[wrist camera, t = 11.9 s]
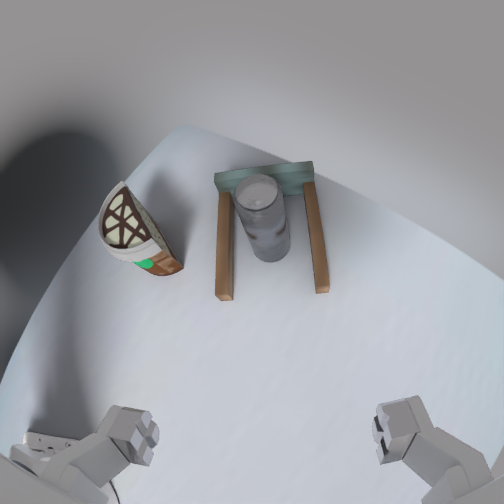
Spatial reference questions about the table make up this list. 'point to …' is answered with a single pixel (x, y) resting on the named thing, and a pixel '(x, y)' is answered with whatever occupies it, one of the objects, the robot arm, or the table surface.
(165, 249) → the food container
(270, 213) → the drinking glass
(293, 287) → the table surface
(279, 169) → the keeper cradle
